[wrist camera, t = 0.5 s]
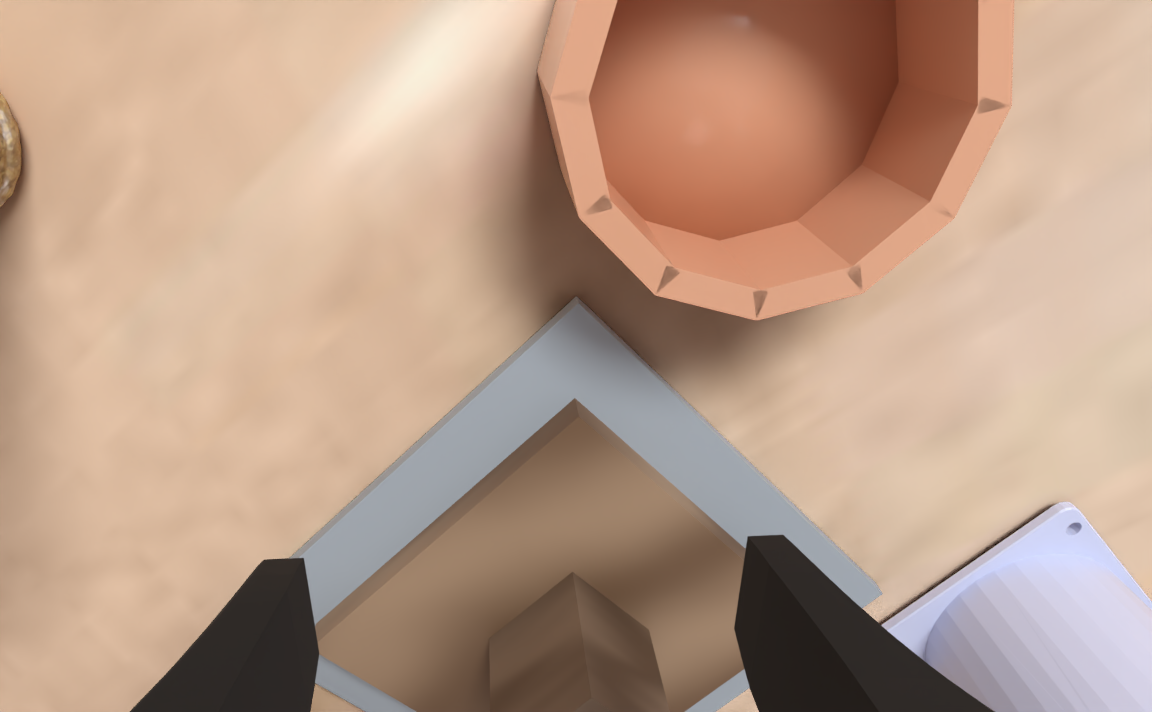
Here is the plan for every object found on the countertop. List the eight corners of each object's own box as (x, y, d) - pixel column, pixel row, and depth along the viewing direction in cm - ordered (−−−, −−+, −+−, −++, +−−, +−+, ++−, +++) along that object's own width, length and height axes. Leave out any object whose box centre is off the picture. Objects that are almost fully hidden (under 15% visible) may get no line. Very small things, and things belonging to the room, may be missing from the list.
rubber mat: (875, 583, 27) (882, 593, 27) (557, 809, 31) (558, 821, 30) (576, 295, 21) (578, 303, 21) (225, 616, 25) (220, 628, 24)
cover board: (801, 597, 26) (874, 744, 21) (560, 772, 29) (576, 938, 24) (574, 397, 22) (602, 523, 17) (316, 624, 25) (275, 788, 20)
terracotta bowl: (980, 81, 20) (1090, 107, 16) (703, 318, 22) (746, 388, 18) (768, -253, 16) (849, -312, 13) (462, 69, 18) (458, 95, 15)
